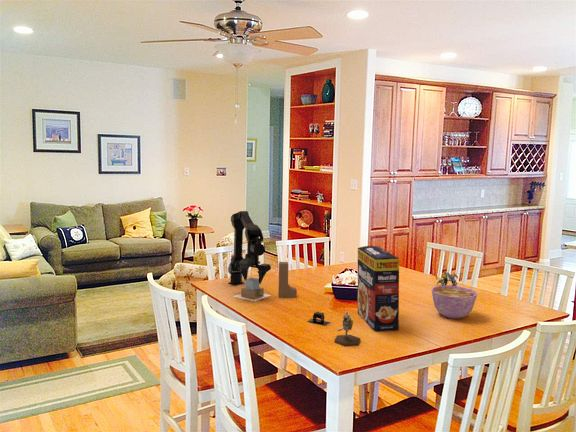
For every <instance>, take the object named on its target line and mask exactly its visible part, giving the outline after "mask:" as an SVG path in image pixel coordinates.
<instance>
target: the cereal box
mask: <svg viewBox="0 0 576 432" xmlns="http://www.w3.org/2000/svg"><path fill="white" fill-rule="evenodd" d="M399 309H400V258H399V257H397V256H396V255H394V254H392V253H391V252H389V251H387V250H386V249H383V248H382V247H380V246H376V245H365V246H360V247H358V248H357V313H358V314H359V316H360V317H361V318H362V319H363V320H364V321H365V322H366V323H367V324H368V326H369V327H370V328H371V329H372V330H373V331H374V332H396V331H399V330H400V328H399V326H400V325H399V324H400V323H399V322H400V320H399V316H400V315H399V314H400V313H399V312H400V310H399Z"/></svg>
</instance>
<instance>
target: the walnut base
mask: <svg viewBox="0 0 576 432" xmlns="http://www.w3.org/2000/svg"><path fill="white" fill-rule="evenodd" d="M264 289H265V288H263V287H259V289H257V290H254V291H252V290H247V289H245V287H244V288H241V291H240V294H241V297H244V298H248V299H253V300H254V299H257V298H260V297H263V296H264V294H265V293H264Z"/></svg>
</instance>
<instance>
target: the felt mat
mask: <svg viewBox="0 0 576 432" xmlns="http://www.w3.org/2000/svg"><path fill="white" fill-rule="evenodd" d="M232 297H233V298H238V299H243V300H247V301H251V302H257V301H260V300H262V299H265V298H267V297H271V294H268V293H264V296H263V297H260V298H257V299H254V300H253V299H248V298H244V297H241V293H239V294H236V295H233V296H232Z"/></svg>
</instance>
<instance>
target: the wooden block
mask: <svg viewBox="0 0 576 432" xmlns="http://www.w3.org/2000/svg"><path fill="white" fill-rule="evenodd" d="M297 291H298V290H297V288H296V287H295V286H290V284H289V262H288V261H279V262H278V293H277V295H278V299H292V298H293V299H294V298H295V299H296V298H298V297H297V295H298V292H297Z"/></svg>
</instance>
